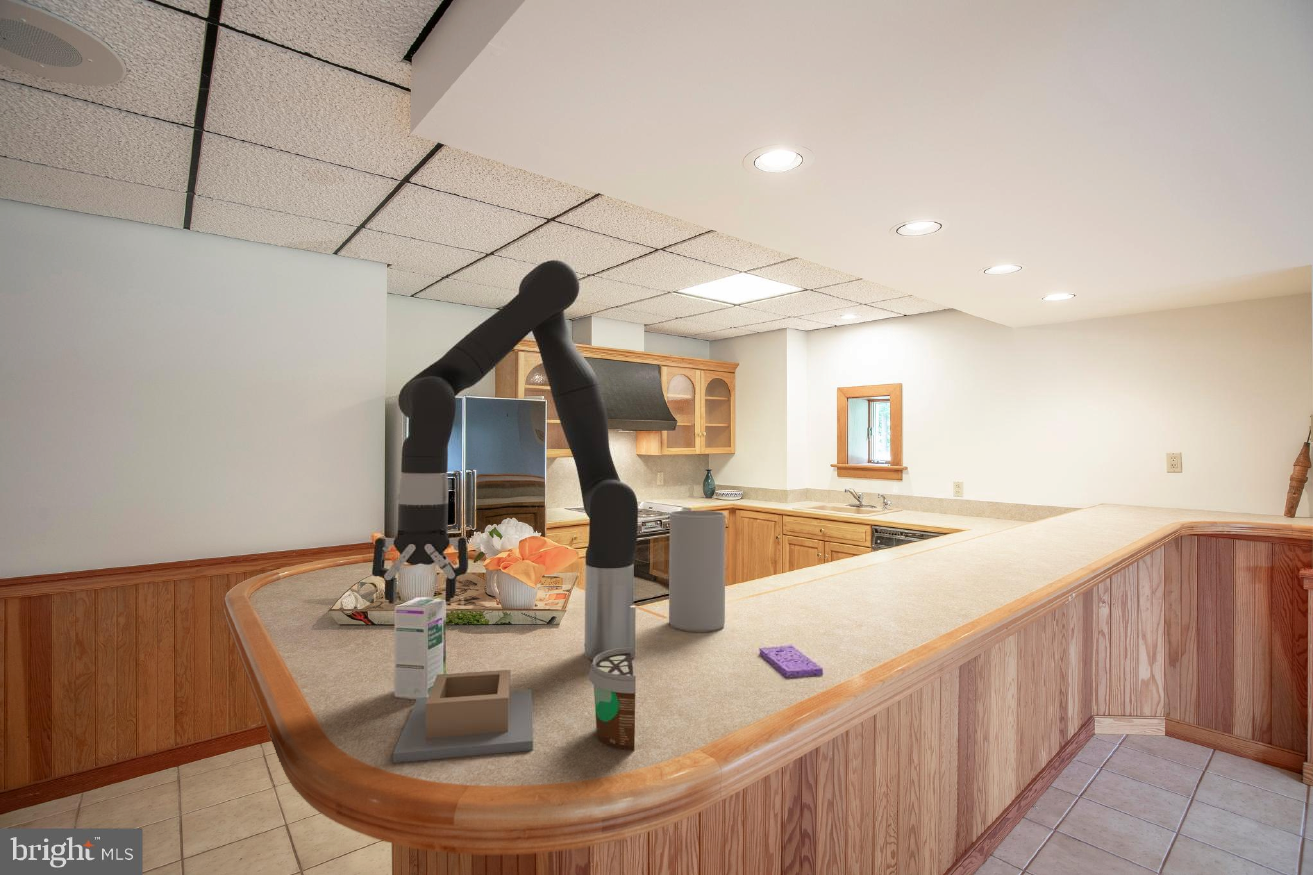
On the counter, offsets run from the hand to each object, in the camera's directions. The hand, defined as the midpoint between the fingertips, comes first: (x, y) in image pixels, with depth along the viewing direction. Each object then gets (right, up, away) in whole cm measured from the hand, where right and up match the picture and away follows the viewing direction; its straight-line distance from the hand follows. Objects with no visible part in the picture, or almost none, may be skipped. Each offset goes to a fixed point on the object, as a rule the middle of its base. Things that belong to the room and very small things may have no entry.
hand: (420, 601), depth 97 cm
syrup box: (0, -15, 0) cm, 15 cm away
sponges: (+63, -16, +14) cm, 66 cm away
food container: (+32, -15, -14) cm, 38 cm away
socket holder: (+12, -14, -12) cm, 22 cm away
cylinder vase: (+47, -16, +38) cm, 63 cm away
